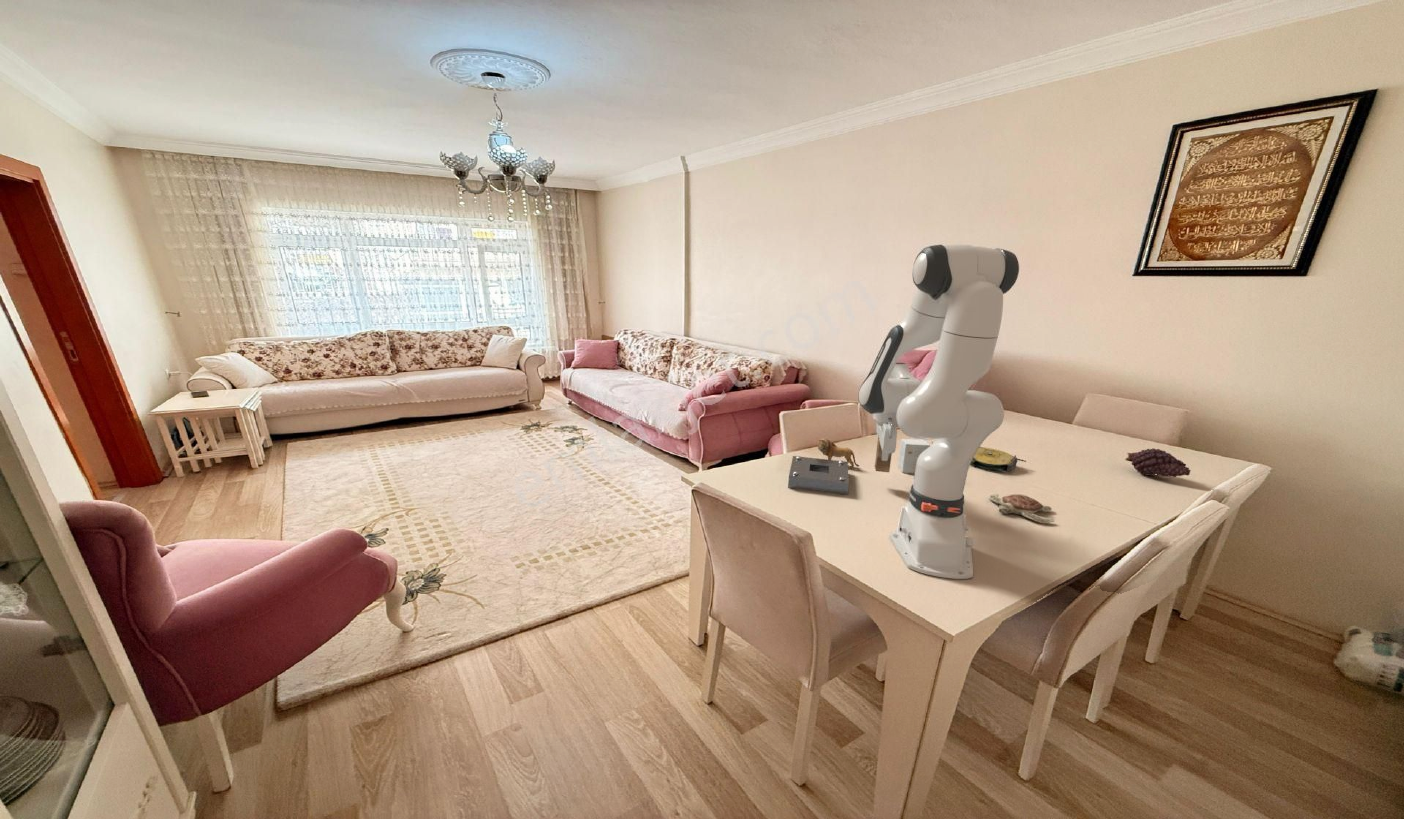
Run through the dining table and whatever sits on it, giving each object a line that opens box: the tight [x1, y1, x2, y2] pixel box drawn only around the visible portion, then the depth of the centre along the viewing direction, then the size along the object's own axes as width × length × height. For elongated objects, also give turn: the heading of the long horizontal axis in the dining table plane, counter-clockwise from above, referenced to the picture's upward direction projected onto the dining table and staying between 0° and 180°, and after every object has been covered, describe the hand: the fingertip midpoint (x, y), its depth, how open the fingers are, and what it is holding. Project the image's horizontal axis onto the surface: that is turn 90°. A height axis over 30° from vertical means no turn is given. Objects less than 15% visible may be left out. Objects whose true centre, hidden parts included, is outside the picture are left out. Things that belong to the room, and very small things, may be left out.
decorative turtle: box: [988, 493, 1055, 524], centre depth 142 cm, size 18×17×5 cm
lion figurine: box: [817, 438, 860, 470], centre depth 173 cm, size 15×5×9 cm, turn 72°
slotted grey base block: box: [787, 455, 850, 496], centre depth 160 cm, size 18×18×5 cm
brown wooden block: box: [874, 436, 893, 473], centre depth 154 cm, size 4×4×10 cm
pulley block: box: [931, 441, 1027, 475], centre depth 180 cm, size 14×6×30 cm
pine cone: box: [1124, 448, 1191, 478], centre depth 168 cm, size 18×10×10 cm, turn 27°
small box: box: [897, 438, 931, 474], centre depth 169 cm, size 8×6×10 cm
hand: (883, 457), depth 154 cm, fingers closed on brown wooden block, 4 cm apart
